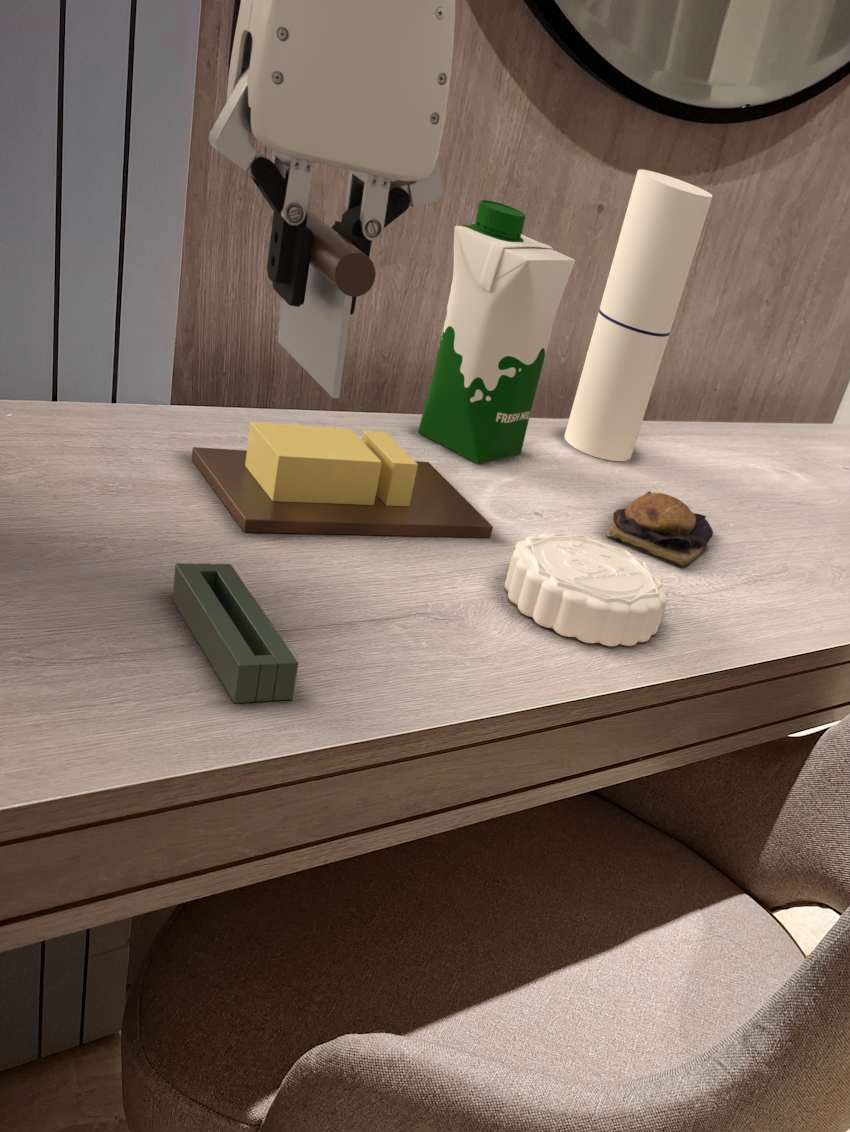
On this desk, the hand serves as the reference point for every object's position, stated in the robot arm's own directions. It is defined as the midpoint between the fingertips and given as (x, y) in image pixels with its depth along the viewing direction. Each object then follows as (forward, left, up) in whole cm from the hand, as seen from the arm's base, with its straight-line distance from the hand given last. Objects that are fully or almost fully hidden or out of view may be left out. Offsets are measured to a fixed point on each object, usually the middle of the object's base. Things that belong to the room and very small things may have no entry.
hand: (313, 299), depth 65 cm
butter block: (+9, +16, -18) cm, 26 cm away
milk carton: (+30, +29, -19) cm, 46 cm away
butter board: (+12, +16, -19) cm, 28 cm away
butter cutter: (0, 0, -4) cm, 4 cm away
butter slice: (+15, +16, -18) cm, 28 cm away
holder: (-4, -5, -19) cm, 20 cm away
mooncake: (+24, -1, -19) cm, 31 cm away
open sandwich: (+40, +11, -19) cm, 46 cm away
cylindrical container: (+46, +31, -19) cm, 59 cm away
